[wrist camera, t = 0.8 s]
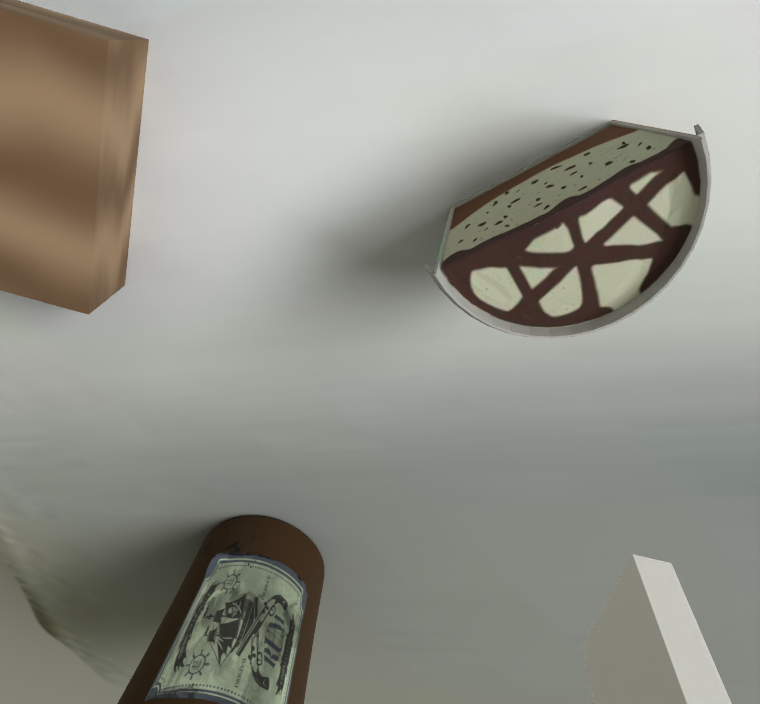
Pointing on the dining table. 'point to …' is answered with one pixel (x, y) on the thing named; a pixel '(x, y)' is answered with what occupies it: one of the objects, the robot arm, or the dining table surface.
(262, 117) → the dining table surface
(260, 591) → the brown bottle
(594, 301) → the food container
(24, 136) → the walnut block
